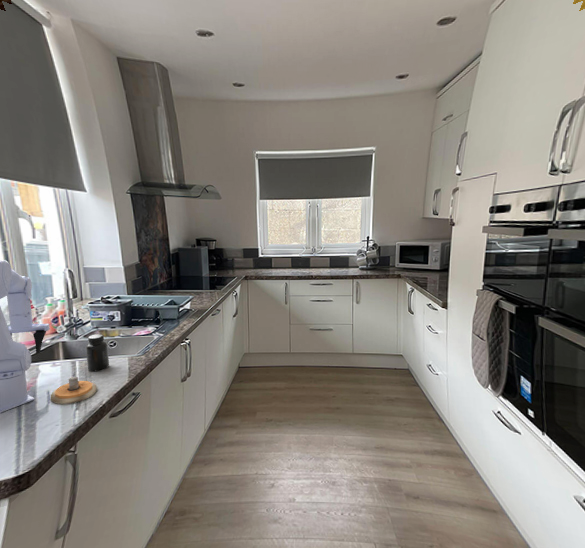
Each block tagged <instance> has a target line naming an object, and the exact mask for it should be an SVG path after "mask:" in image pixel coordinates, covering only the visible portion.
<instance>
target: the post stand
mask: <svg viewBox="0 0 585 548" xmlns="http://www.w3.org/2000/svg"><path fill="white" fill-rule="evenodd" d="M78 381H79V378H78V376H72V377H69V378H68V383H69V390H68V391H74V390H78V389H80V388H79V385H78ZM90 382H91V381H90ZM91 383H92V389H91V390H90V391H89V392H88V393H86V394H83V395H81V396H78V397H74V398H69V399H68V398H58V397H56V396H55V390H54V391H52V393H51V394H50V401H51V402H52V403H54V404H57V405H68V404H74V403H78V402H81V401H84V400H87V399H89V398H91V397H92V396H94V395H95V394H96V393H97V390H98V386H97V384H95V382H91Z"/></svg>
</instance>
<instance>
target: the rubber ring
mask: <svg viewBox="0 0 585 548" xmlns="http://www.w3.org/2000/svg"><path fill="white" fill-rule="evenodd" d="M92 383H93V382H92ZM92 383H91V381H89V380H78V385H79V388H80V389H78V390H74V391H68V390H69V382H68V383H65V384H63V385H60V386H59V387H58V388H56V389H55V390H54V391H55V396H56V397H58V398H68V399H69V398H74V397H78V396H81V395H83V394H86V393H88V392H89V391H90V390H91V389H92Z"/></svg>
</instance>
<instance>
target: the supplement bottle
mask: <svg viewBox="0 0 585 548" xmlns="http://www.w3.org/2000/svg"><path fill="white" fill-rule="evenodd" d="M87 339H88V341H87V343H88V344H86V346H85V352H86V353H85V355H86V364H87V366H86V367H87V370H88V371H90V372H100V371H104V370H106V369H107V368H108V367H109V366H110V360H109V359H110V358H109V357H110V356H109V347H108V343H107V342H106V341H105V338H104V334H101V333H100V334H99V333H98V334H97V333H96V334H91V335H89V336H88V337H87Z"/></svg>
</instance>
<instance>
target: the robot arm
mask: <svg viewBox="0 0 585 548" xmlns="http://www.w3.org/2000/svg"><path fill="white" fill-rule="evenodd" d="M32 283H33V282H32V279H31V278H30V277H28V276H27V275H23V276H22V275H21V274H19V273H18V272H16V271H15V270H14V268H12V267H11V264H10V262H8V261H7V260H6V259H2V260H0V300H2V299H4V298H5V297H6V298H7V308H8V309H7V310H8V318H9V319H8V320H9V325H8V324H7V321H6V317H5V316H4V313H3V310H2V308H1V307H2V306H0V414H1V413H4V412H6V411H8V410H11V409H14V408H16V407H19V406H21V405H24V404H27V403H29V402H32V401H34V400H35V397H33V396H31V395H29V394H28V387H27V386H28V385H27V377H26V376H27V375H26V371H28V370H29V369H30V368H31V365H32V354H31V351H30V350H29V349H28V348H27V346H26V344H24V343H21V342H19V341H18V342H17V341H14V340H13V337H12V336H13V334H16V333H19V334H20V333H30V332H31V333H32V332H34V333H33V339H34V343H35V353H36V354H40V353H41V352H42V351H41V350H42V344H43V340H44V337H45V336H46V333H47V332H49V330H50V323H33V314H32V312H33V311H32V305H31V304H32V303H31V298H32V288H33V287H32V286H33V285H32Z"/></svg>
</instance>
